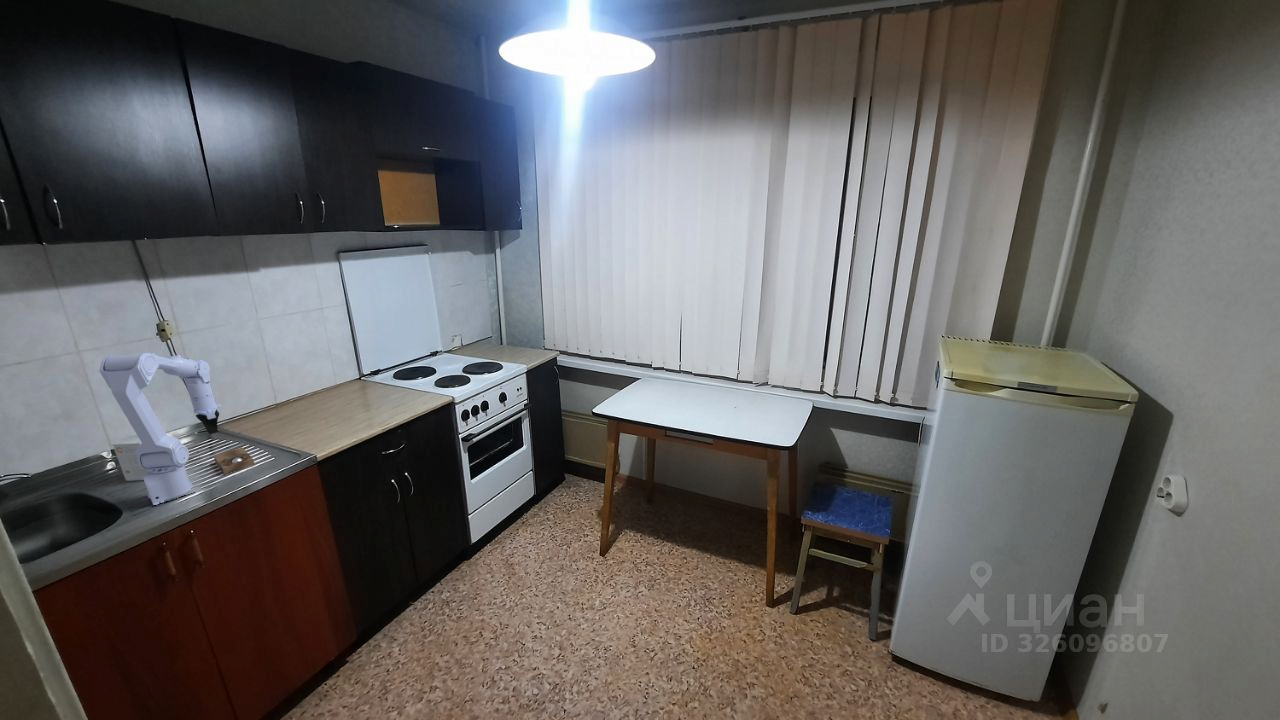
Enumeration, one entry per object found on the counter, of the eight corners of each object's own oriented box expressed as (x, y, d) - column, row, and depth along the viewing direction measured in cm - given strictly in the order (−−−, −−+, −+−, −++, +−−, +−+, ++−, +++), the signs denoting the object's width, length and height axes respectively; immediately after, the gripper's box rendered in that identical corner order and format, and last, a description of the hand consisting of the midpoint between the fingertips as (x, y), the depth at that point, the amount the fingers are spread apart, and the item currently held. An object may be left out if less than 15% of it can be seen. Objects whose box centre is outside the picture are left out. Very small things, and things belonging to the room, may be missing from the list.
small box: (169, 469, 164) (156, 433, 160) (152, 480, 158) (139, 443, 154) (142, 471, 163) (129, 435, 159) (125, 481, 157) (111, 444, 153)
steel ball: (237, 454, 165) (234, 459, 166) (231, 460, 162) (227, 466, 163) (247, 458, 166) (244, 464, 167) (241, 465, 163) (237, 470, 164)
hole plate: (224, 475, 160) (222, 468, 159) (215, 462, 168) (213, 456, 167) (254, 465, 165) (253, 458, 165) (244, 453, 173) (242, 447, 173)
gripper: (222, 396, 162) (233, 434, 167) (211, 387, 171) (222, 423, 176) (194, 403, 157) (206, 442, 161) (185, 393, 166) (196, 430, 170)
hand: (213, 432), depth 168 cm, fingers closed
